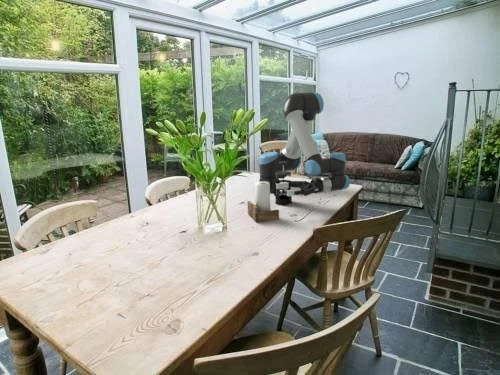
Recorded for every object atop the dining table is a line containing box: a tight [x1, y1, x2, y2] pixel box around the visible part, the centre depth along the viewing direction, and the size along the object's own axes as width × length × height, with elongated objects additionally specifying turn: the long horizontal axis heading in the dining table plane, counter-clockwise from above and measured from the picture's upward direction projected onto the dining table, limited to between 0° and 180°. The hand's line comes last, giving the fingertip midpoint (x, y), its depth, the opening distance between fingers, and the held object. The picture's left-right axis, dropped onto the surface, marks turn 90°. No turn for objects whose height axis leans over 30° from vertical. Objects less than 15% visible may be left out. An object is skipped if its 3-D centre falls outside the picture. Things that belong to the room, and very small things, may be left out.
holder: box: [247, 200, 280, 223], centre depth 165 cm, size 12×12×7 cm
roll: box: [254, 181, 271, 212], centre depth 163 cm, size 7×7×16 cm
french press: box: [273, 162, 293, 206], centre depth 184 cm, size 12×9×23 cm
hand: (281, 189), depth 165 cm, fingers open, 13 cm apart
